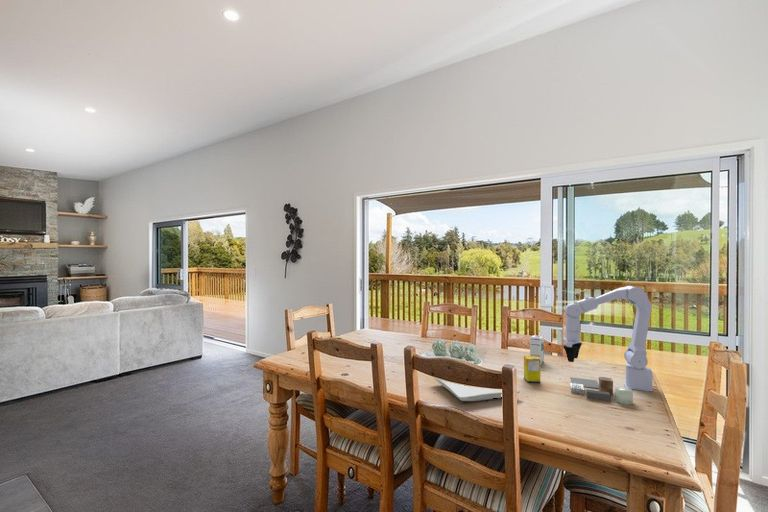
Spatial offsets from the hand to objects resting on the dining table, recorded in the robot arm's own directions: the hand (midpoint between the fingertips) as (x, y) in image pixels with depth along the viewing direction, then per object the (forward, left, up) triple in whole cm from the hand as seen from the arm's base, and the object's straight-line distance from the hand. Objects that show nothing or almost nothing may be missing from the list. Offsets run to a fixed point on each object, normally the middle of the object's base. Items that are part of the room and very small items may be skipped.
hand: (572, 359), depth 170 cm
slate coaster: (-5, +1, -10) cm, 11 cm away
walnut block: (-12, +10, -10) cm, 18 cm away
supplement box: (+17, +6, -10) cm, 21 cm away
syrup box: (+15, -24, -10) cm, 31 cm away
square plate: (+40, +28, -11) cm, 50 cm away
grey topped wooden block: (-1, +12, -11) cm, 16 cm away
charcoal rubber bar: (-8, +18, -10) cm, 22 cm away
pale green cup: (-17, +18, -10) cm, 26 cm away
